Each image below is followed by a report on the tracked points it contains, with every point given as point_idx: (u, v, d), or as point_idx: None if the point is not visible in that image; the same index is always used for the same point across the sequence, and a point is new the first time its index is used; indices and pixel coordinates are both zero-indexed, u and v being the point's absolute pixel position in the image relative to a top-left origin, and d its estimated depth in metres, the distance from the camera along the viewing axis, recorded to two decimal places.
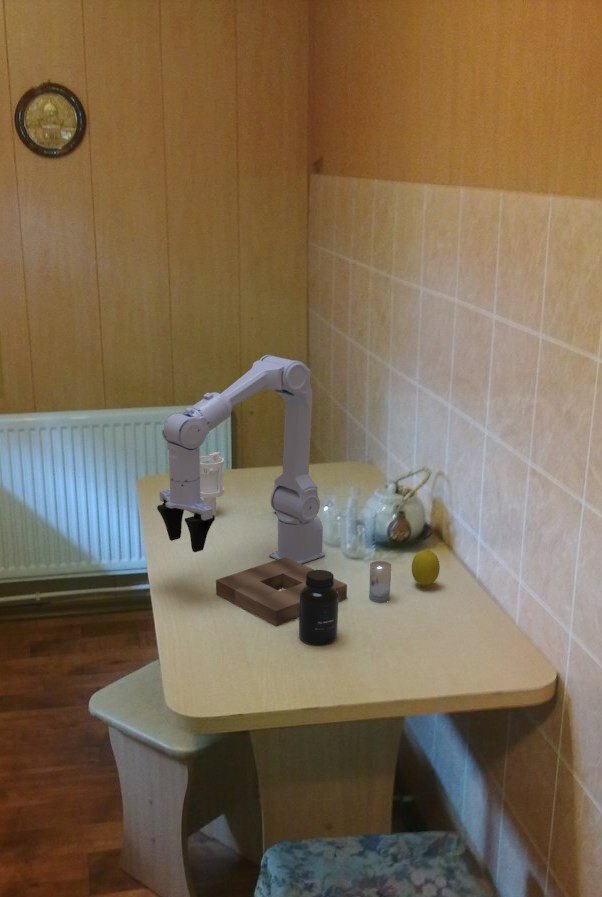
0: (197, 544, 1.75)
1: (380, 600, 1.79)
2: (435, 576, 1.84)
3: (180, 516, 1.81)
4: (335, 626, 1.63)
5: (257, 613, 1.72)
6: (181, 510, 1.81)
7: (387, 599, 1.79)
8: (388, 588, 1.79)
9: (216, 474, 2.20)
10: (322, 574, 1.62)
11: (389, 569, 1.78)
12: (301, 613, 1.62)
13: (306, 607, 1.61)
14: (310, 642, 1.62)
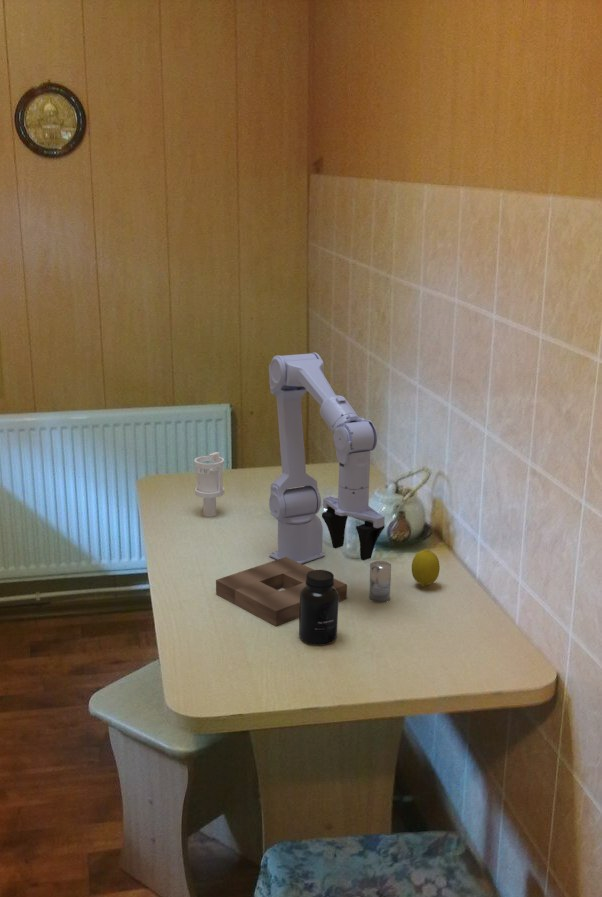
0: (366, 552, 1.73)
1: (380, 600, 1.79)
2: (435, 576, 1.84)
3: (344, 523, 1.79)
4: (335, 626, 1.63)
5: (257, 613, 1.72)
6: (345, 517, 1.79)
7: (387, 599, 1.79)
8: (388, 588, 1.79)
9: (216, 474, 2.20)
10: (322, 574, 1.62)
11: (389, 569, 1.78)
12: (301, 613, 1.62)
13: (306, 607, 1.61)
14: (310, 642, 1.62)
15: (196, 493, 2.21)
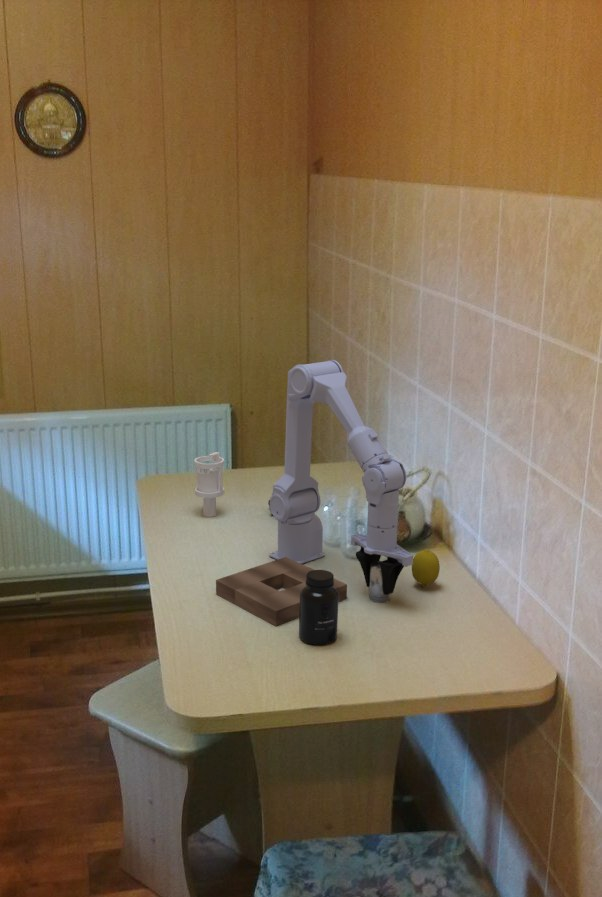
0: (389, 587, 1.77)
1: (380, 600, 1.79)
2: (435, 576, 1.84)
3: None
4: (335, 626, 1.63)
5: (257, 613, 1.72)
6: (378, 556, 1.81)
7: (387, 599, 1.79)
8: None
9: (216, 474, 2.20)
10: (322, 574, 1.62)
11: None
12: (301, 613, 1.62)
13: (306, 607, 1.61)
14: (310, 642, 1.62)
15: (196, 493, 2.21)
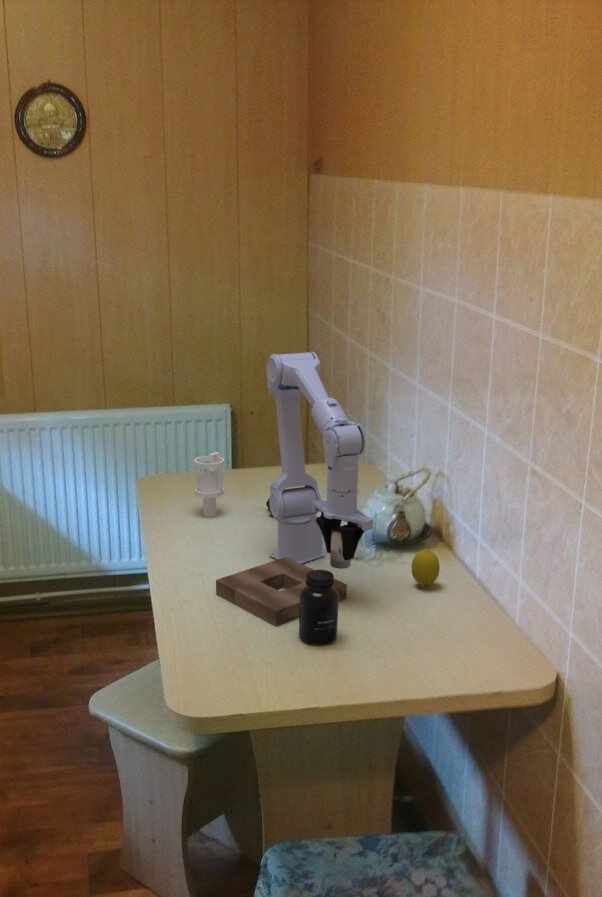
0: (349, 552, 1.76)
1: (340, 566, 1.77)
2: (435, 576, 1.84)
3: None
4: (335, 626, 1.63)
5: (257, 613, 1.72)
6: (339, 522, 1.79)
7: (348, 565, 1.78)
8: None
9: (216, 474, 2.20)
10: (322, 574, 1.62)
11: None
12: (301, 613, 1.62)
13: (306, 607, 1.61)
14: (310, 642, 1.62)
15: (196, 493, 2.21)
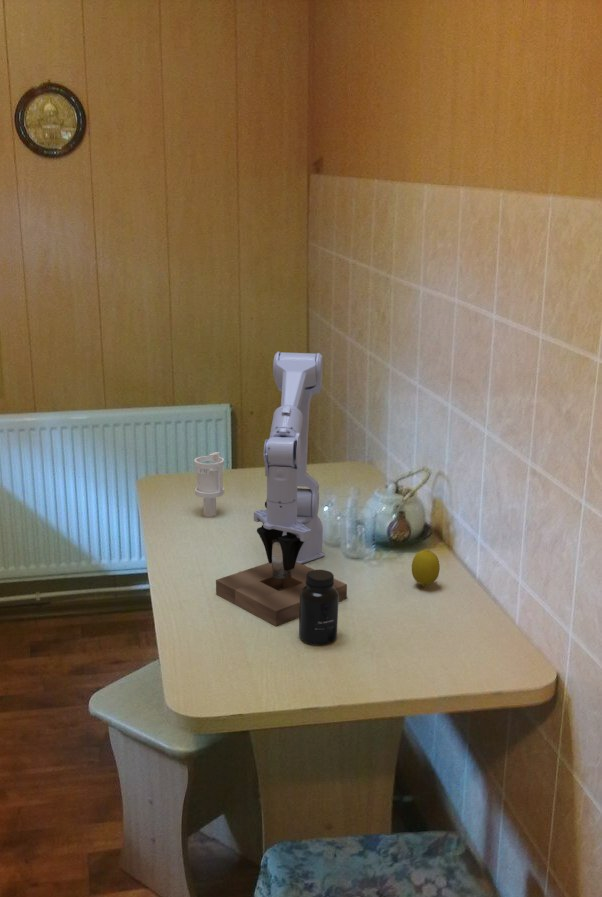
0: (289, 563, 1.76)
1: (280, 576, 1.78)
2: (435, 576, 1.84)
3: None
4: (335, 626, 1.63)
5: (257, 613, 1.72)
6: (280, 533, 1.80)
7: (288, 575, 1.78)
8: None
9: (216, 474, 2.20)
10: (322, 574, 1.62)
11: None
12: (301, 613, 1.62)
13: (306, 607, 1.61)
14: (310, 642, 1.62)
15: (196, 493, 2.21)
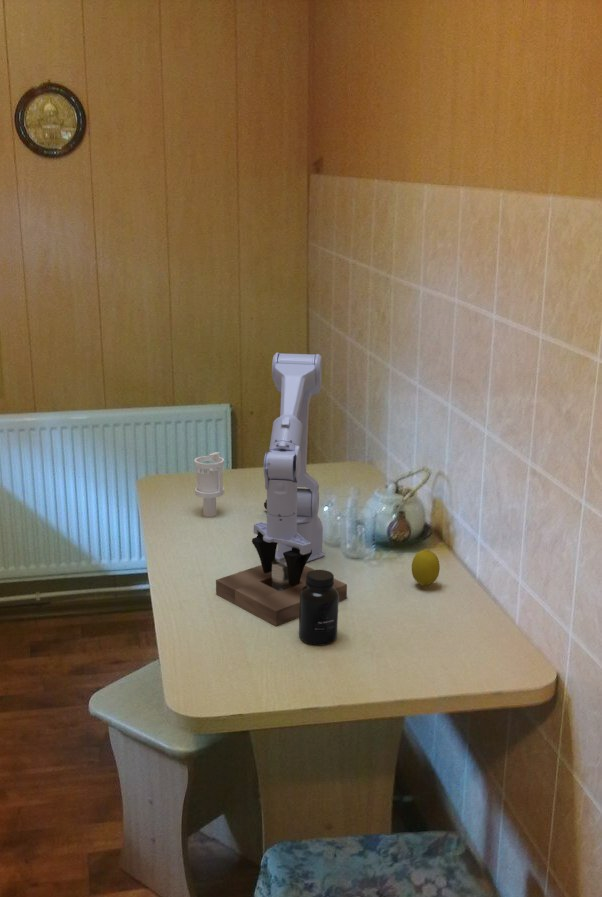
0: (294, 578, 1.76)
1: None
2: (435, 576, 1.84)
3: (274, 549, 1.82)
4: (335, 626, 1.63)
5: (257, 613, 1.72)
6: (275, 543, 1.82)
7: None
8: (288, 586, 1.79)
9: (216, 474, 2.20)
10: (322, 574, 1.62)
11: None
12: (301, 613, 1.62)
13: (306, 607, 1.61)
14: (310, 642, 1.62)
15: (196, 493, 2.21)
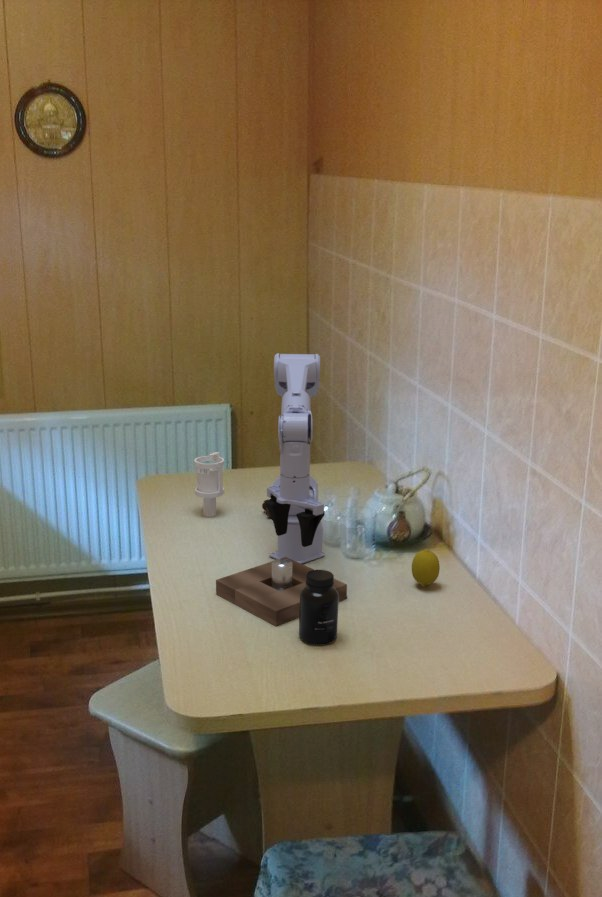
0: (307, 539, 1.79)
1: None
2: (435, 576, 1.84)
3: (287, 512, 1.85)
4: (335, 626, 1.63)
5: (257, 613, 1.72)
6: (288, 506, 1.85)
7: None
8: (288, 586, 1.79)
9: (216, 474, 2.20)
10: (322, 574, 1.62)
11: (289, 567, 1.78)
12: (301, 613, 1.62)
13: (306, 607, 1.61)
14: (310, 642, 1.62)
15: (196, 493, 2.21)
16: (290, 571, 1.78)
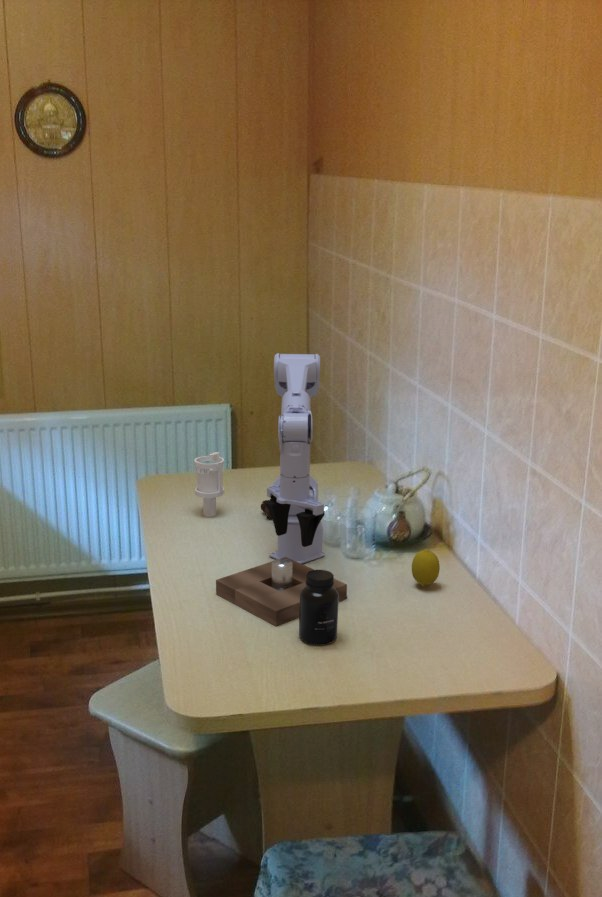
0: (307, 539, 1.79)
1: None
2: (435, 576, 1.84)
3: (287, 512, 1.85)
4: (335, 626, 1.63)
5: (257, 613, 1.72)
6: (288, 506, 1.85)
7: None
8: (288, 586, 1.79)
9: (216, 474, 2.20)
10: (322, 574, 1.62)
11: (289, 567, 1.78)
12: (301, 613, 1.62)
13: (306, 607, 1.61)
14: (310, 642, 1.62)
15: (196, 493, 2.21)
16: (290, 571, 1.78)
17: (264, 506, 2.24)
